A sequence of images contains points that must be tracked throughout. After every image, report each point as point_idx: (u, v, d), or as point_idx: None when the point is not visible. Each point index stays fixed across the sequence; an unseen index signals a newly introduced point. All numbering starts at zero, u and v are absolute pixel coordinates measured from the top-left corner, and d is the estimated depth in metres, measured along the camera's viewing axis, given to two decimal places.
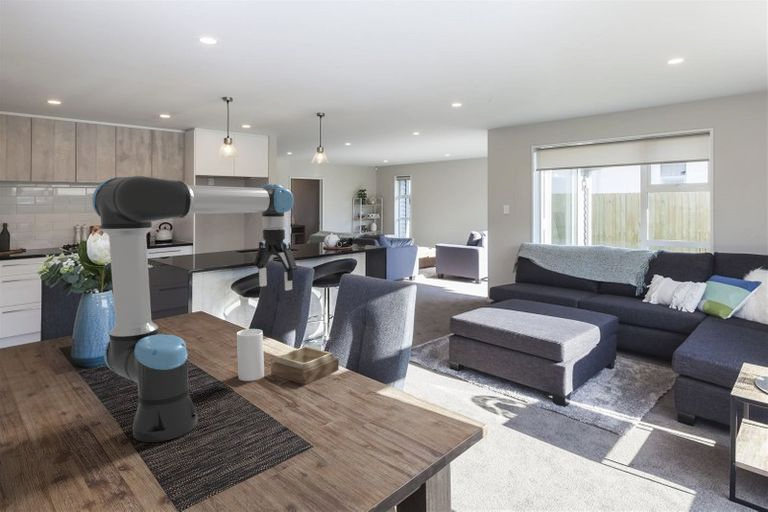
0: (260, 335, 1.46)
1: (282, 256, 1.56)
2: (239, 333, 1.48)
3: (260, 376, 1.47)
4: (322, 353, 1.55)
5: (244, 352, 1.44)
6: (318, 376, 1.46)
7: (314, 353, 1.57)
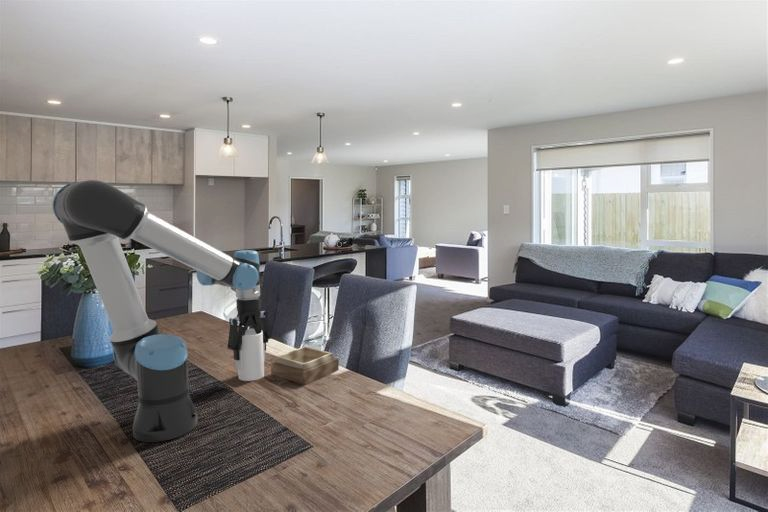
0: (260, 335, 1.46)
1: (239, 331, 1.44)
2: None
3: (260, 376, 1.47)
4: (322, 353, 1.55)
5: (244, 352, 1.44)
6: (318, 376, 1.46)
7: (314, 353, 1.57)
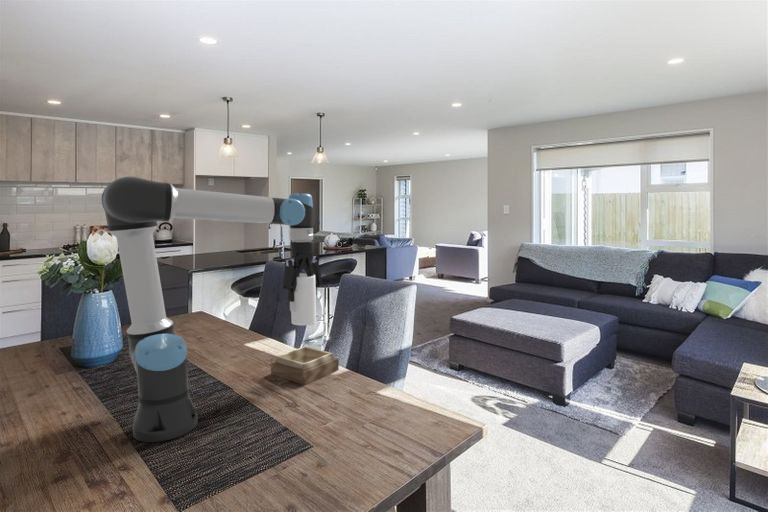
0: (313, 278, 1.47)
1: (293, 273, 1.46)
2: None
3: (313, 319, 1.48)
4: (322, 353, 1.55)
5: (298, 294, 1.45)
6: (318, 376, 1.46)
7: (314, 353, 1.57)
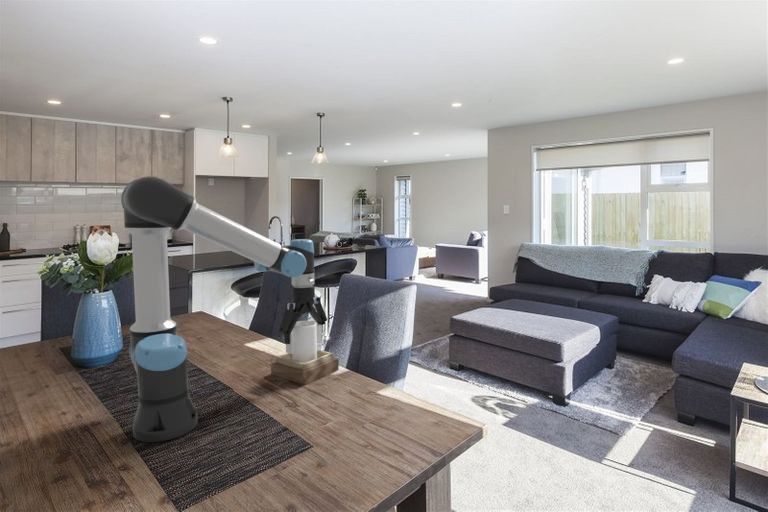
0: (314, 326, 1.49)
1: (292, 316, 1.47)
2: None
3: None
4: (322, 353, 1.55)
5: (300, 343, 1.47)
6: (318, 376, 1.46)
7: None
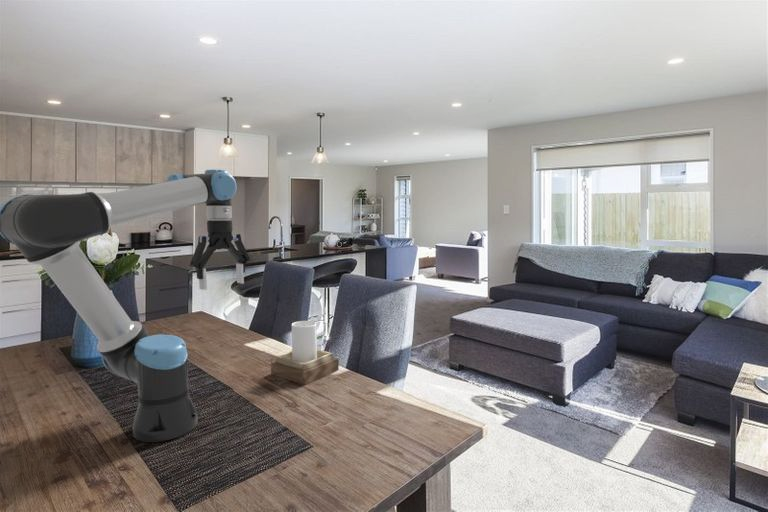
0: (314, 326, 1.49)
1: (206, 251, 1.39)
2: (293, 325, 1.51)
3: None
4: (322, 353, 1.55)
5: (300, 343, 1.47)
6: (318, 376, 1.46)
7: None
